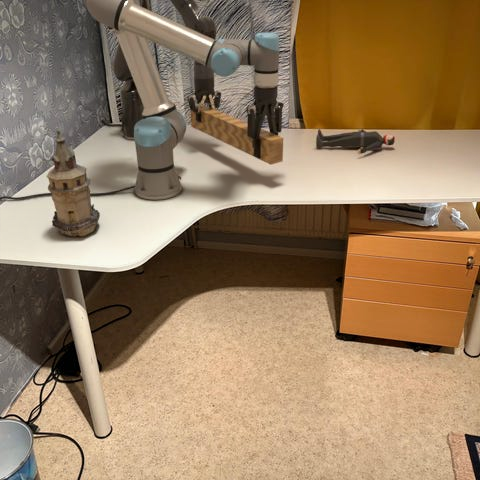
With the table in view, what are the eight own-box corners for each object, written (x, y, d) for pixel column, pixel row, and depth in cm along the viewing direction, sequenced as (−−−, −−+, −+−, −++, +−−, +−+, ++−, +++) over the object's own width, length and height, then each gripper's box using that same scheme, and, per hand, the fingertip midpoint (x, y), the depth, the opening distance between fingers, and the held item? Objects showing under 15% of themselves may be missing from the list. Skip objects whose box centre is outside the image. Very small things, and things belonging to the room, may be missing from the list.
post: (282, 161, 177) (283, 137, 173) (270, 164, 174) (271, 140, 170) (202, 124, 213) (201, 104, 209) (191, 126, 211) (190, 106, 207)
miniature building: (80, 214, 164) (63, 117, 149) (111, 225, 157) (96, 125, 142) (44, 231, 154) (22, 130, 140) (75, 244, 147) (55, 139, 133)
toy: (319, 122, 224) (394, 122, 218) (319, 137, 227) (392, 137, 221) (314, 142, 202) (397, 143, 196) (314, 158, 205) (395, 159, 199)
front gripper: (280, 79, 176) (277, 147, 187) (235, 86, 167) (235, 157, 178) (295, 83, 171) (291, 153, 182) (249, 92, 162) (248, 164, 173)
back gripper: (214, 71, 203) (215, 115, 212) (181, 76, 196) (184, 121, 204) (225, 75, 198) (226, 120, 206) (192, 80, 191) (194, 126, 199)
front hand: (263, 155), depth 180 cm, fingers closed on post, 5 cm apart
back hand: (205, 120), depth 205 cm, fingers closed on post, 5 cm apart
